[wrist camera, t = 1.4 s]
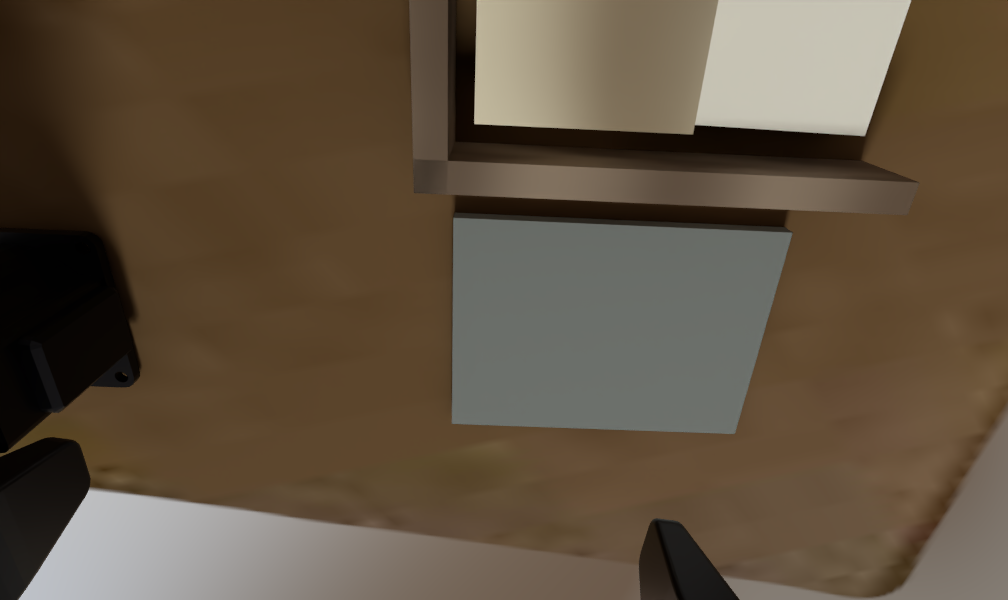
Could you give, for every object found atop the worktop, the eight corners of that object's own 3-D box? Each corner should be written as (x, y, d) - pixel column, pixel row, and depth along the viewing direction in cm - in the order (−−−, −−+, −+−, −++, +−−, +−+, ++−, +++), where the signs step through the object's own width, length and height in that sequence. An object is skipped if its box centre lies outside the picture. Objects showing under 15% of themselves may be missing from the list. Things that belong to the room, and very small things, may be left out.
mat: (453, 414, 24) (451, 423, 24) (454, 212, 20) (453, 217, 20) (729, 424, 24) (734, 433, 24) (784, 227, 20) (792, 232, 20)
